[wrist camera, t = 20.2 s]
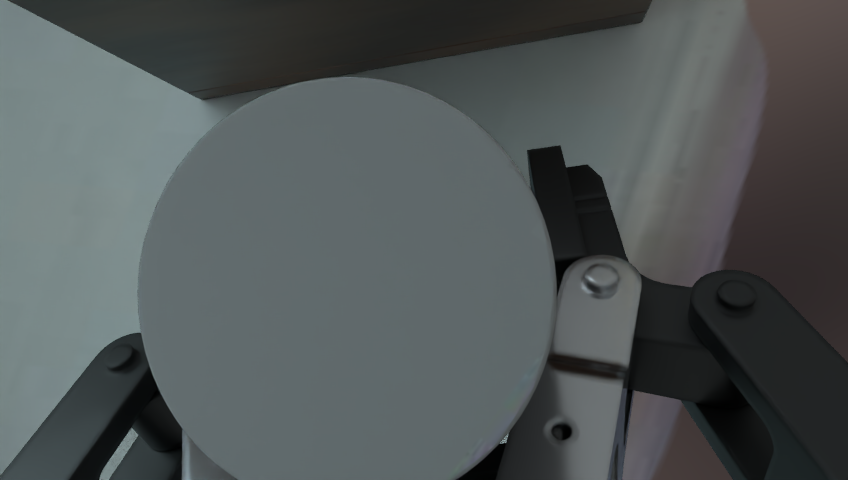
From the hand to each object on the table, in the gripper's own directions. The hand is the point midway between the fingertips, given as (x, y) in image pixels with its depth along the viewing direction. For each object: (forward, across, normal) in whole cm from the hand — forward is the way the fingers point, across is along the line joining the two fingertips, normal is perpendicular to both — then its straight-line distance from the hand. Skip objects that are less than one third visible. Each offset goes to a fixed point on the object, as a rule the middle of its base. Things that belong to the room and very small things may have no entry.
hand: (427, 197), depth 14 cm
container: (+4, 0, +6) cm, 8 cm away
